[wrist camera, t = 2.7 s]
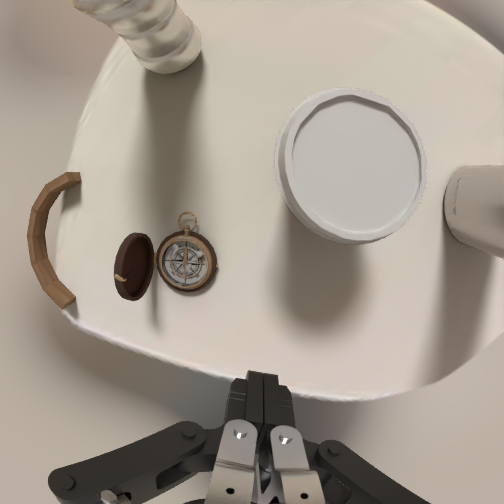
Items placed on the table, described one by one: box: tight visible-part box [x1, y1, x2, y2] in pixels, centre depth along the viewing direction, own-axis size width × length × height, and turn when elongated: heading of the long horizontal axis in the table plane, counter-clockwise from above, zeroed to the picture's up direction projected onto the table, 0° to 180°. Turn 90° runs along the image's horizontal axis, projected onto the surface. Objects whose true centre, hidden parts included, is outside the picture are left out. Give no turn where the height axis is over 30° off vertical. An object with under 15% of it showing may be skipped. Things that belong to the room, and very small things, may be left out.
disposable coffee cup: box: [274, 88, 427, 245], centre depth 20 cm, size 10×10×12 cm
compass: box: [114, 212, 218, 301], centre depth 24 cm, size 8×8×7 cm
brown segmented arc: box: [27, 172, 81, 310], centre depth 27 cm, size 6×16×2 cm, turn 168°
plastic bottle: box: [70, 0, 201, 74], centre depth 13 cm, size 6×7×20 cm
